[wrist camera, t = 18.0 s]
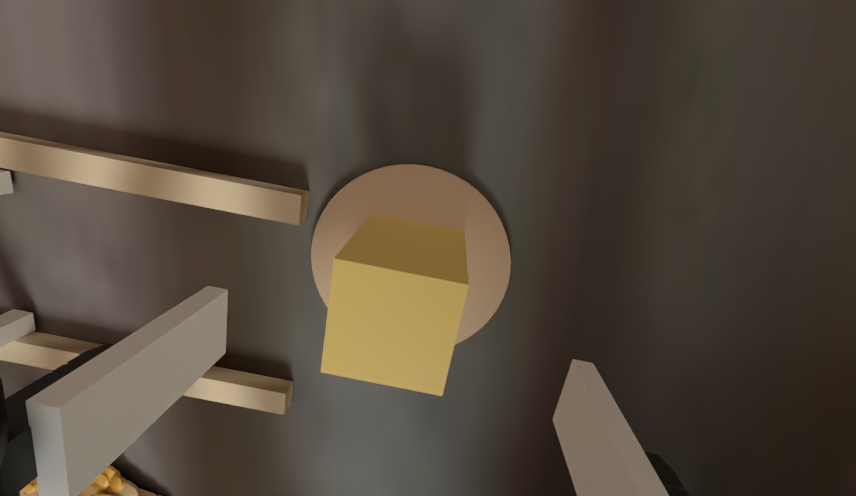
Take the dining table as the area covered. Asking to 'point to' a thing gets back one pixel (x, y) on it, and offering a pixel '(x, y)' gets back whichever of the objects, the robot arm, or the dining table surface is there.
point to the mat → (426, 203)
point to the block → (396, 304)
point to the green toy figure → (100, 486)
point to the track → (168, 186)
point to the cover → (13, 321)
